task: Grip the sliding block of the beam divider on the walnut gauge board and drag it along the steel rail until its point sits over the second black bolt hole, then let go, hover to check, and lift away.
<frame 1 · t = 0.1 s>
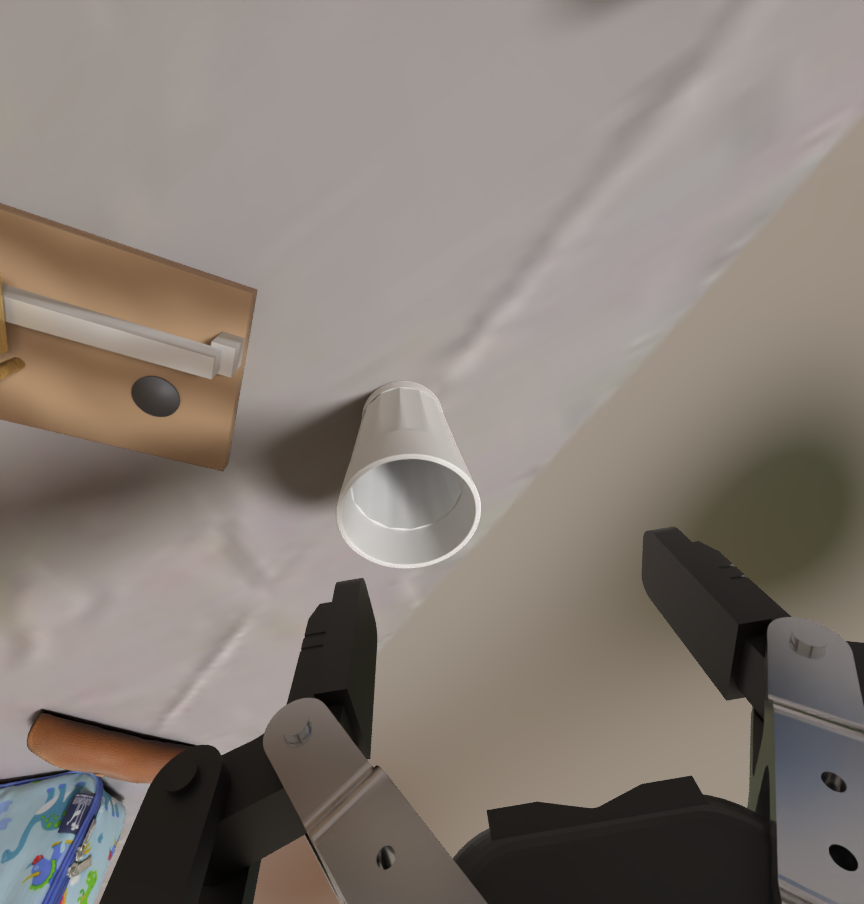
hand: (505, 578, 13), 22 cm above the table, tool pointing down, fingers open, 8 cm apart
lunch box: (30, 789, 58), on the table
cup: (402, 417, 35), on the table
gauge board: (68, 336, 29), on the table
sunglasses case: (119, 737, 54), on the table
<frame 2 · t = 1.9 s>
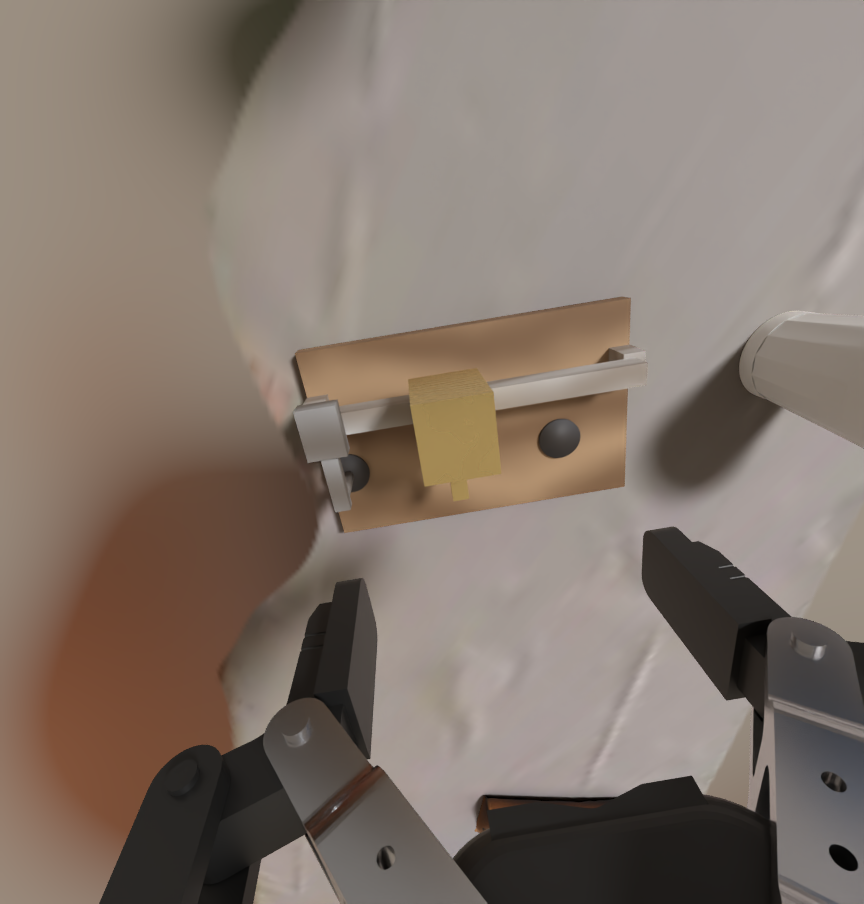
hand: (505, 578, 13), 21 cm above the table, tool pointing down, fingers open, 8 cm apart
cup: (779, 355, 32), on the table
sliding block: (452, 439, 27), point 6 cm above the table, slide at 0.0 cm
gauge board: (472, 420, 33), on the table
sunglasses case: (547, 807, 54), on the table
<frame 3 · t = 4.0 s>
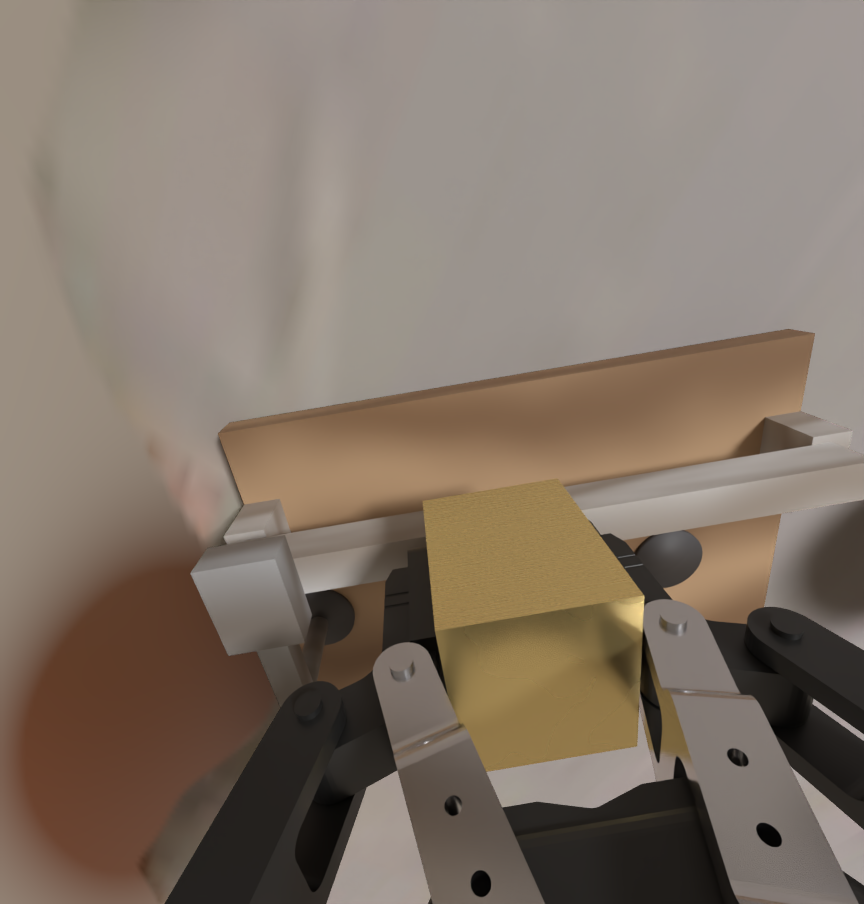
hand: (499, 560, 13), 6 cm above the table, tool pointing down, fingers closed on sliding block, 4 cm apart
sliding block: (506, 607, 14), point 6 cm above the table, slide at 0.0 cm, touching gripper
gauge board: (522, 527, 20), on the table
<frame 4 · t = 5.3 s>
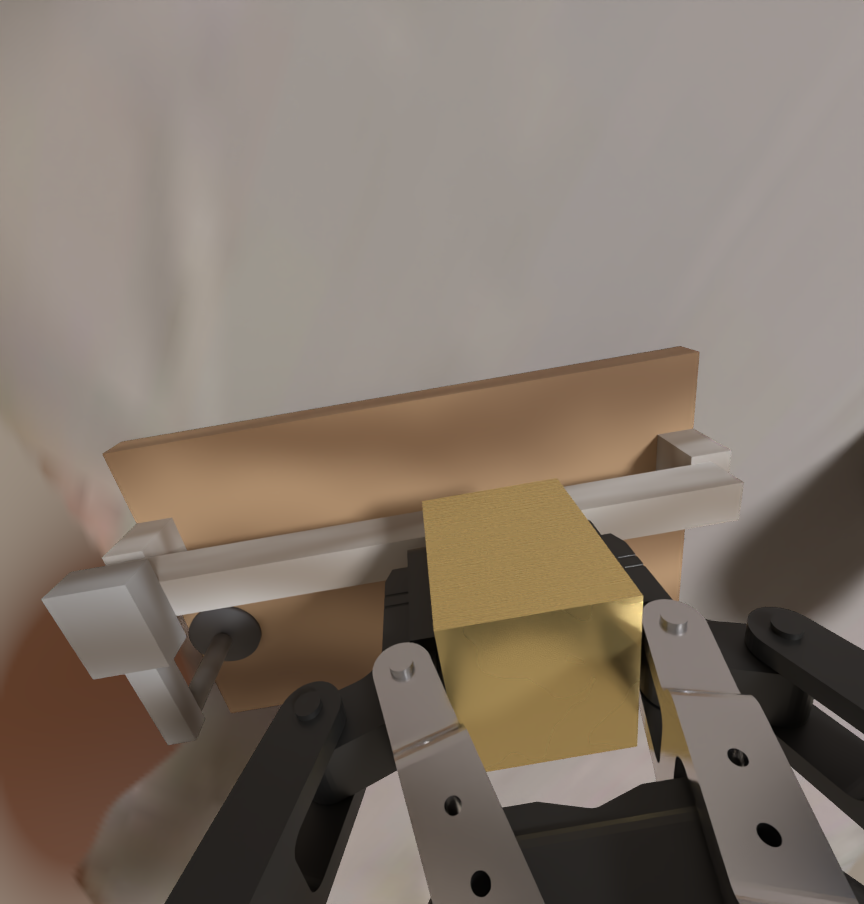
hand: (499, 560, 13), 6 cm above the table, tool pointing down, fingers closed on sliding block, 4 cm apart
sliding block: (506, 607, 14), point 6 cm above the table, slide at 4.3 cm, touching gripper
gauge board: (429, 542, 20), on the table
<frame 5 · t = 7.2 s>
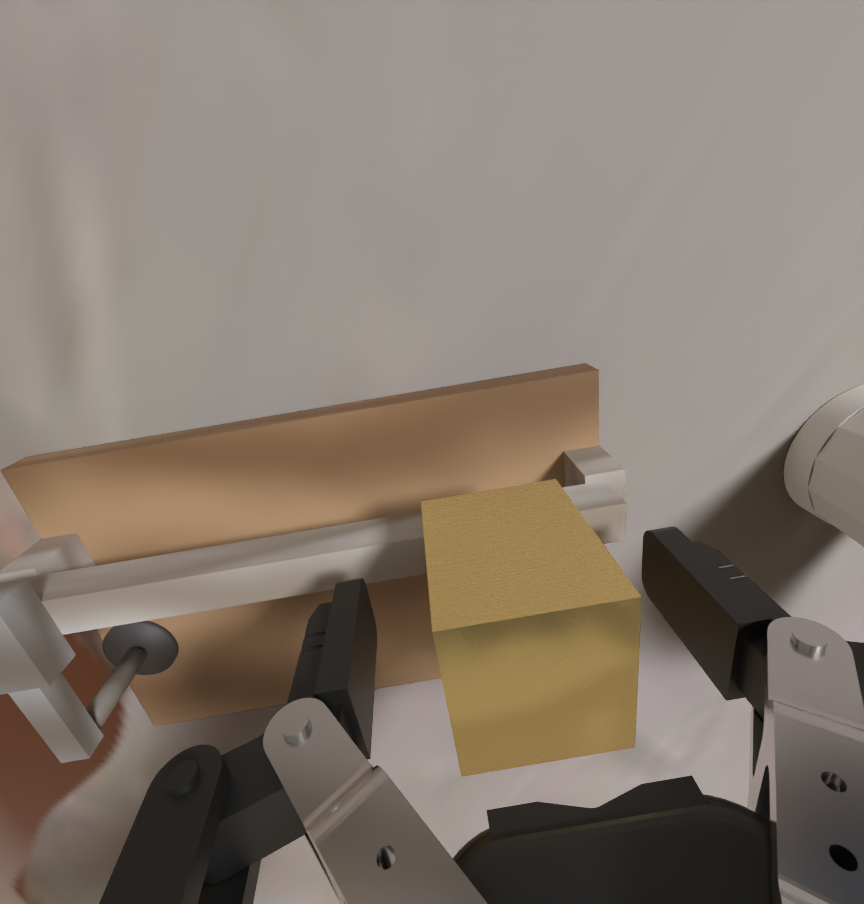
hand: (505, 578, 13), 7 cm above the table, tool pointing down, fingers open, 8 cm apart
cup: (850, 450, 20), on the table
sliding block: (504, 608, 14), point 6 cm above the table, slide at 8.0 cm
gauge board: (347, 556, 20), on the table
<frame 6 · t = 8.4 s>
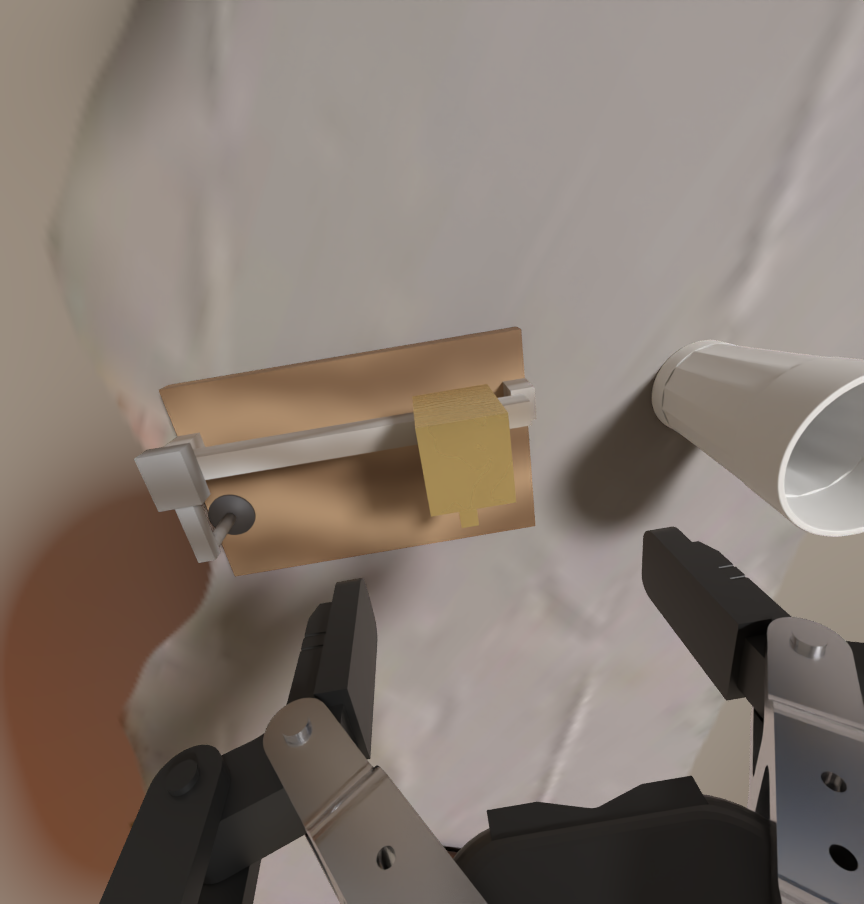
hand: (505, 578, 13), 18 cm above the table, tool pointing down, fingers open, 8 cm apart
cup: (695, 386, 30), on the table
sliding block: (460, 461, 24), point 6 cm above the table, slide at 8.0 cm
gauge board: (365, 457, 30), on the table
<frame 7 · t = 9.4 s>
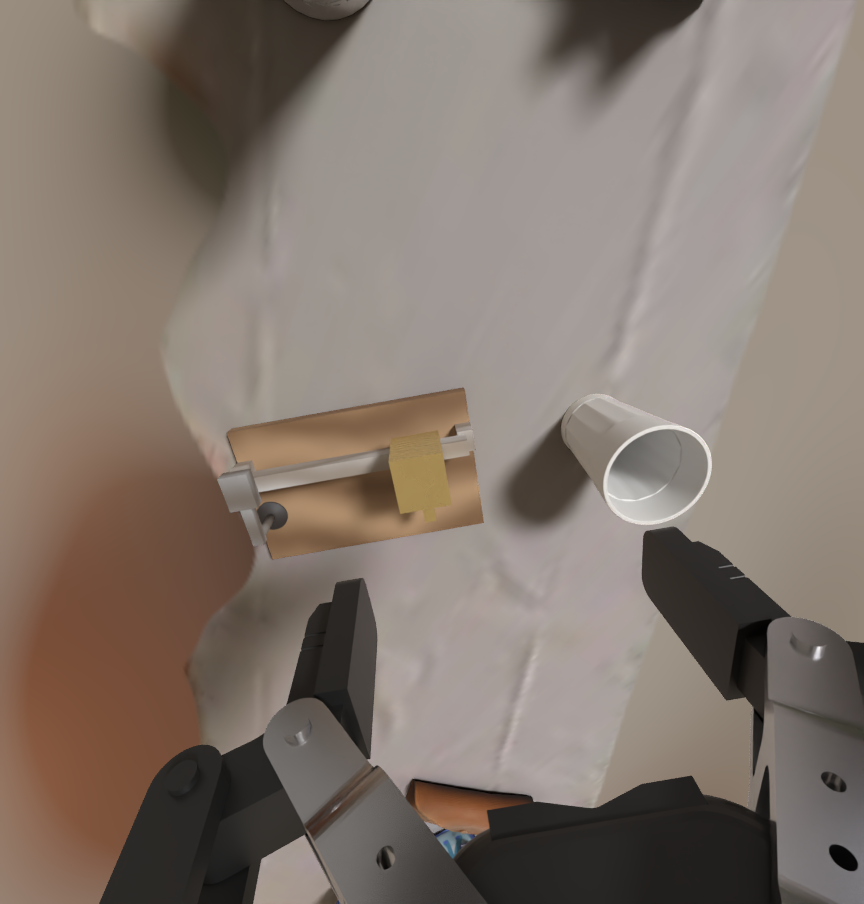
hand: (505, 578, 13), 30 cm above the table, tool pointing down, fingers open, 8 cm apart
lunch box: (419, 857, 69), on the table
cup: (592, 424, 43), on the table
sliding block: (422, 479, 38), point 6 cm above the table, slide at 8.0 cm
gauge board: (363, 475, 44), on the table
sunglasses case: (464, 797, 65), on the table
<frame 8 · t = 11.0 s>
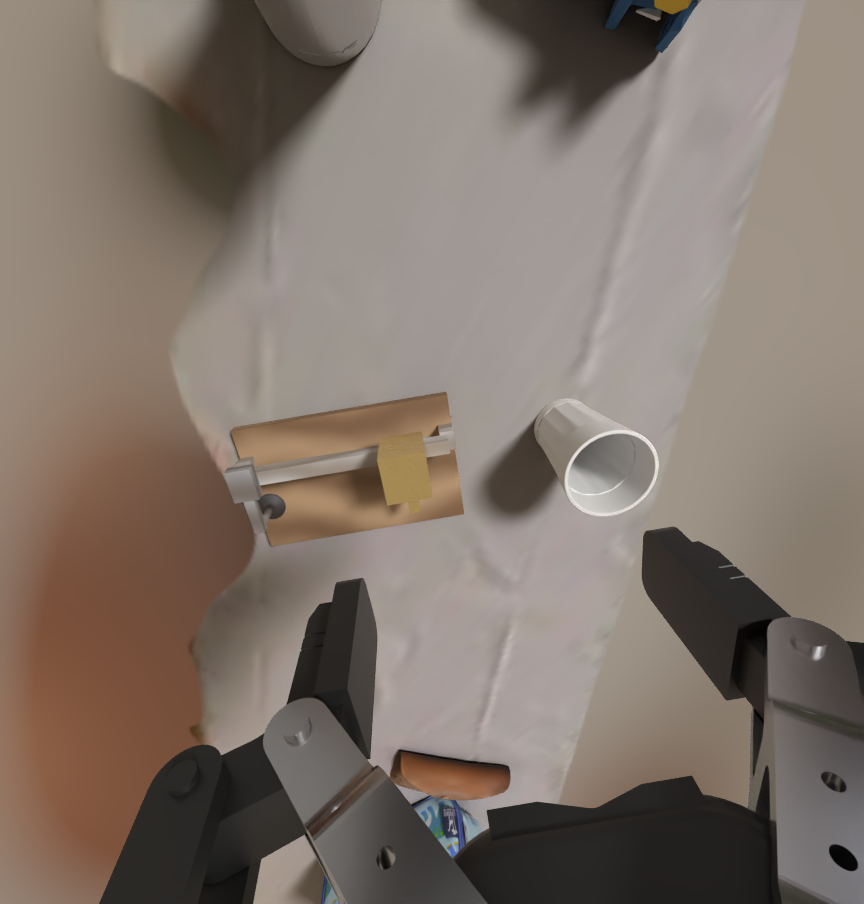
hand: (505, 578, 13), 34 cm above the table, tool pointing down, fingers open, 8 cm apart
lunch box: (405, 822, 74), on the table
cup: (562, 426, 48), on the table
sliding block: (408, 474, 42), point 6 cm above the table, slide at 8.0 cm
gauge board: (355, 470, 48), on the table
sunglasses case: (446, 767, 70), on the table
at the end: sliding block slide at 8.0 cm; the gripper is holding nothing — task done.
